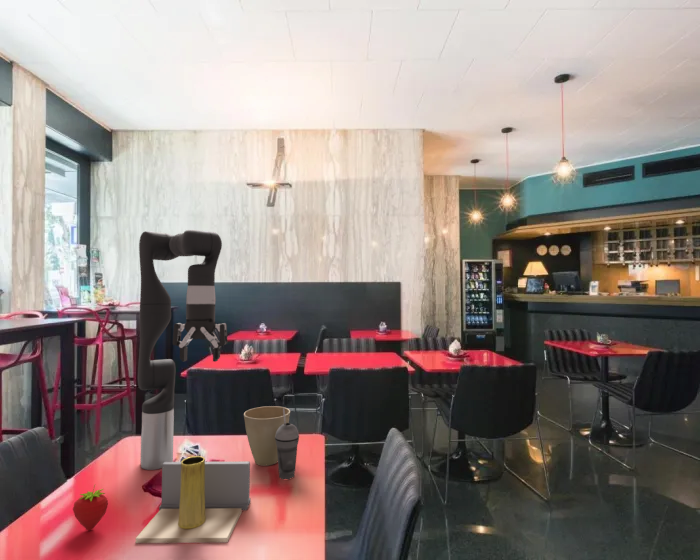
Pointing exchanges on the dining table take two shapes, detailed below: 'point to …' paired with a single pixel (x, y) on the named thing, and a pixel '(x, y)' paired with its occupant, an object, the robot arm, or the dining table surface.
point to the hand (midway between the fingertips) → (200, 361)
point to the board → (211, 530)
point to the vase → (192, 493)
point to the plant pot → (264, 432)
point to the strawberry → (90, 508)
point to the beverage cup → (286, 449)
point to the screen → (210, 485)
